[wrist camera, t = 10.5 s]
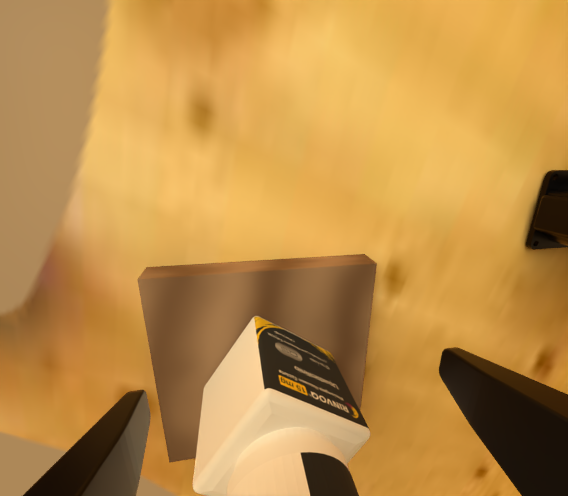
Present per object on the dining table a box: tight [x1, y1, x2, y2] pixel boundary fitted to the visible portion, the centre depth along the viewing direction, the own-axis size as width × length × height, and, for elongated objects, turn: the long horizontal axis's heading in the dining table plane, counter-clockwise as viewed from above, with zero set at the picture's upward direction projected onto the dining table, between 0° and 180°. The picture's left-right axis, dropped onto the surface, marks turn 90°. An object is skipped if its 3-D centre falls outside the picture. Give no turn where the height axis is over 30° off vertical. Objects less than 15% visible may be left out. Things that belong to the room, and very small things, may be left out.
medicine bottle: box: [193, 316, 370, 496], centre depth 16 cm, size 7×7×12 cm
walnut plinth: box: [138, 254, 377, 462], centre depth 22 cm, size 16×16×2 cm
